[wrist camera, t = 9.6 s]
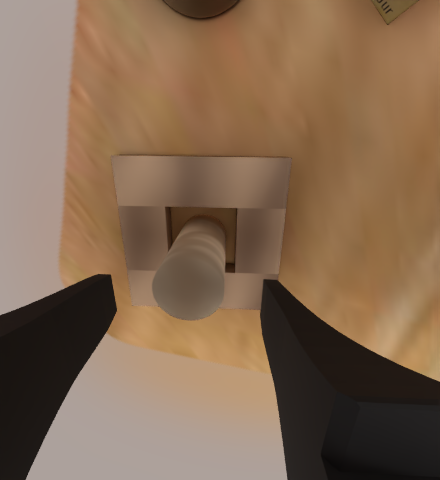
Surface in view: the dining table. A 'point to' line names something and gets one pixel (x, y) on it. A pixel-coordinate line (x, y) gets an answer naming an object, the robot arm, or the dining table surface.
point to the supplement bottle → (200, 7)
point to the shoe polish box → (392, 8)
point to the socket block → (203, 195)
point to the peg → (193, 271)
